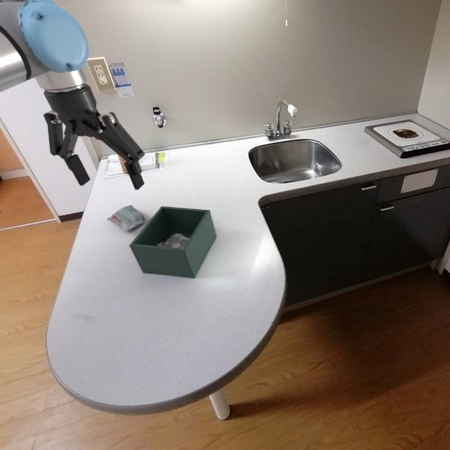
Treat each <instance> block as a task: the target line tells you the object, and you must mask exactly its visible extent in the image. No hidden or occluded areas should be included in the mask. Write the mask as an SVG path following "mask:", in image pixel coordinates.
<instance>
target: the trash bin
mask: <svg viewBox="0 0 450 450" xmlns="http://www.w3.org/2000/svg"><path fill="white" fill-rule="evenodd" d="M216 232H217V231H216V228H215V225H214V221H213V217H212V213H211V210H210V209H203V208H190V207H189V208H188V207H176V206H165V205H162V206H160V207H159V208H158V210H157V211H156V212H155V213H154V215H153V216H152V217H151V218H150V219H149V220H148V222H146V224H145V226H144V227H143V228H142V229H141V230H140V232H139V233H138V234H137V235H136V236H135V238H134V239H133V240H132V241H131V243H130V244H129V245H128V246H129V248H130V250H131V252H132V254H133V257H134V258H135V260H136V262H137V264H138V266H139V268H140V270H141V272H142V273H143V274H149V275H150V274H152V275H158V276H159V275H160V276H168V277H170V276H171V277H177V278H188V279H196V277H197V275H198V273H199V271H200V269H201V267H202V266H203V263H204V262H205V259H206V258H207V256H208V254H209V252H210V249H211V248H212V247H213V245H214V242H215V241H216V239H217V233H216ZM175 234H181V235H183V236H184V237H186V238H188V239H189V241H188V242H187V244H186V246H185V247H184V249H181V248H171V247H160V246H158V245H157V244H160V243H161V242H163V243H165V242H167V239H170V238H171V236H173V235H175Z"/></svg>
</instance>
